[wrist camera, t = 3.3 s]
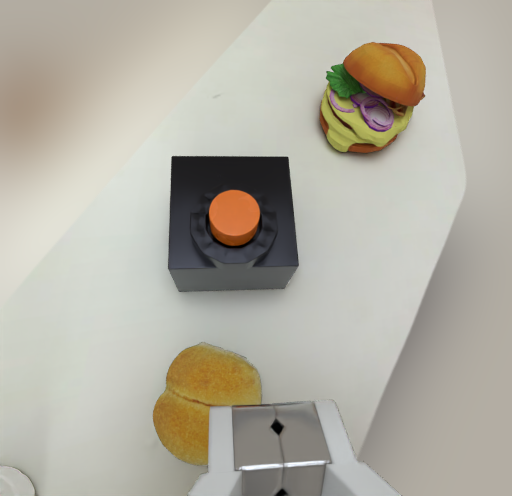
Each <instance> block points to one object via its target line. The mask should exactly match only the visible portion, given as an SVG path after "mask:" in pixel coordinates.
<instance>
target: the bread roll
mask: <svg viewBox="0 0 512 496" xmlns="http://www.w3.org/2000/svg"><path fill="white" fill-rule="evenodd" d="M261 396H262V394H261V382H260V377H259V374H258V371H257V370H256V368H255V367H254V366H253V365H252V364H251V363H250V362H249V361H248V360H247V359H246V357H243V356H240V355H238V354H236V353H233V352H231V351H228V350H224V349H223V348H221V347H215V346H212V345H210V344H207V343H205V342H201V343H200V344H198V345H196V346H192V347H189V348H187V349H185V350H183V351H182V352H181V353H180V354H179V355H178V356H177V357H176V358H175V360H174V361H173V362H172V364H171V366H170V368H169V370H168V373H167V378H166V389H165V391H164V393H163V394H162V395H161V396H160V397H159V399H158V400H157V402H156V404H155V407H154V410H153V421H154V426H155V429H156V432H157V434H158V436H159V438H160V440H161V442H162V444H163V445H164V446H165V447H166V448H167V449H168V450H169V451H170V452H171V453H172V454H173V455H174V456H175V457H177V458H178V459H180V460H182V461H184V462H187V463H190V464H193V465H208V446H209V411H210V406H231V408H232V405H260V404H261Z"/></svg>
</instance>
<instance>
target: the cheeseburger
mask: <svg viewBox="0 0 512 496" xmlns="http://www.w3.org/2000/svg"><path fill="white" fill-rule="evenodd" d="M331 69H332V70H333V71H334V72H329V71H327V72H326V73H328V74H327V77H326V79H327V80H328V81H329V83H328V85H327V89H326V90H325V93H324V97H323V100H322V101H321V107H320V122H321V125H322V127H323V130H324V132H325V134H326V135H327V139H328V141H329V143H330V144H331V145H332V146H333V147H334V148H335V149H337V150H339V151H341V152H347V151H348V150H349V151H352V152H363V153H368V152H374V151H379V150H381V149H383V148H385V147H386V146H388V145H389V144H391V143H392V142H393V141H394V140H395V139H396V137H397V135H398V133H400V132H402V131H403V130H405V129H406V127H407V124H408V121H409V119H410V118H411V116H412V112H413V108H414V106H416V105H418V103H419V102H420V100H422V99H423V98H424V97H425V95H424V93H423V91H424V87H425V75H426V67H425V65H424V63H423V61H422V59H421V57H420V56H419V55H418V54H416V53H415V52H414V51H412V50H411V49H409V48H407V47H405V46H403V45H398V44H388V43H374V42H371V43H367V44H364V45H362V46H360V47H359V48H357V49H355V50H354V51H352V52H351V53H350V54H349V55H348V56H347V57H346V58H345V60H344V62H343V64H339V65H335V66H332V67H331Z"/></svg>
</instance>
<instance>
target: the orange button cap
mask: <svg viewBox="0 0 512 496" xmlns="http://www.w3.org/2000/svg"><path fill="white" fill-rule="evenodd" d="M259 218H260V209H259V206H258V204H257V202H256V200H255V199H254V198H253V197H252V196H251V195H249V194H248V193H246V192H243V191H239V190H229V191H225V192H223V193H221V194H219V195H218V196H216V197H215V198H214V200H213V201H212V203H211V205H210V208H209V219H210V229H211V232H212V234H213V235H214V237H215V238H216V239H217V240H218V241H220V242H221V243H223V244H226V245H230V246H239V245H242V244H245V243H247V242H248V241H250V240H251V239H252V238H253V237H254V235H255V233H256V231H257V227H258V223H259Z"/></svg>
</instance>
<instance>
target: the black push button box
mask: <svg viewBox="0 0 512 496" xmlns="http://www.w3.org/2000/svg"><path fill="white" fill-rule="evenodd" d="M229 190H239V191H243V192H246V193H248V194H249V195H251V196H252V197H253V198H254V199H255V200H256V202H257V204H258V206H259V209H260V218H259V223H258V227H257V231H256V233H255V235H254V237H253V238H252V239H251V240H250V241H248V242H247V243H245V244H242V245H239V246H230V245H226V244H223V243H221V242H220V241H218V240H217V239H216V238H215V237H214V235H213V234H212V232H211V229H210V219H209V208H210V205H211V203H212V201H213V200H214V198H215V197H216V196H218V195H219V194H221V193H223V192H225V191H229ZM298 266H299V263H298V252H297V242H296V232H295V221H294V211H293V201H292V190H291V180H290V169H289V159H288V157H236V156H172V161H171V193H170V224H169V256H168V269H169V271H170V274H171V276H172V278H173V280H174V282H175V284H176V287H177V289H178V291H179V292H189V291H222V290H254V289H284V288H285V287H286V285H287V284H288V282H289V280H290V279H291V277H292V276H293V274H294V272H295V271H296V269H297V268H298Z"/></svg>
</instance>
